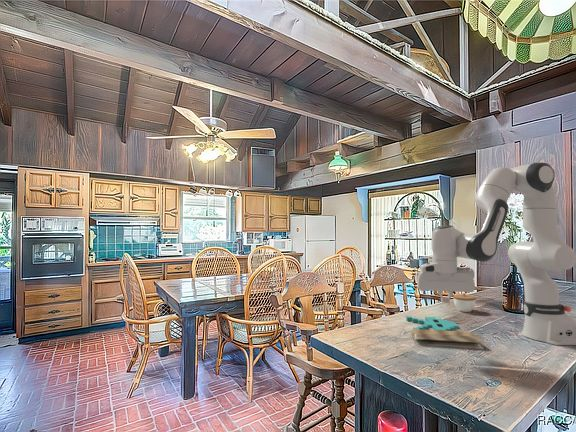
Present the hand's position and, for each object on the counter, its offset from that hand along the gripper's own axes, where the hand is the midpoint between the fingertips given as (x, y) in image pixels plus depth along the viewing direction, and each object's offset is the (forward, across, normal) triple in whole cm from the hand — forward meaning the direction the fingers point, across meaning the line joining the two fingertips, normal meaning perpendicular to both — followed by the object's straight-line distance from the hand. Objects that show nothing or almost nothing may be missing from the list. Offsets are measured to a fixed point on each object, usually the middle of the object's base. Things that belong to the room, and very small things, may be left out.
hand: (445, 302), depth 122 cm
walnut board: (+17, 0, -8) cm, 19 cm away
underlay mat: (+17, 0, -5) cm, 18 cm away
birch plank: (+15, 0, -1) cm, 15 cm away
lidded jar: (+17, -21, -56) cm, 62 cm away
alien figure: (+18, +1, -24) cm, 30 cm away
